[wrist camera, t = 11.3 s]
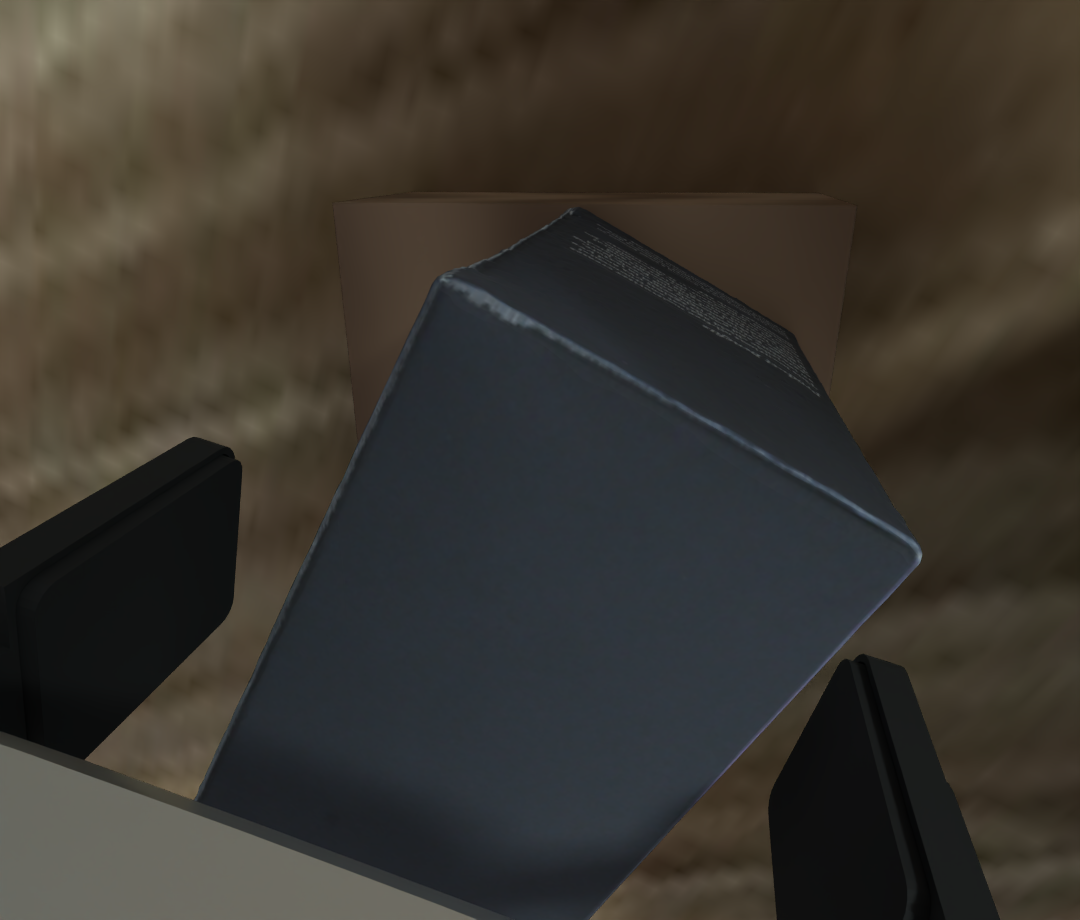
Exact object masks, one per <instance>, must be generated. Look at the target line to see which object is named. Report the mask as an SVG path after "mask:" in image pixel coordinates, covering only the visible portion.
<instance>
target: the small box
mask: <svg viewBox="0 0 1080 920" xmlns="http://www.w3.org/2000/svg"><path fill="white" fill-rule="evenodd" d="M921 558H922V551H921V548H920V545H919V543H918V542H917V540H916V539H915V537H914V536H913V534H912V533H911V531H910V530H909V529H908V527H907V525H906V522H905V520H904V519H903V517H902V516H901V515H900V513H899V512H898V511H897V510H896V509H895V508H894V507H893V505H892V503H891V501H890V499H889V497H888V496H887V494H886V492H885V491H884V489H883V487H882V486H881V484H880V482H879V480H878V479H877V477H876V475H875V473H874V472H873V470H872V469H871V467H870V466H869V464H868V463H867V461H866V460H865V458H864V456H863V454H862V452H861V450H860V448H859V446H858V445H857V443H856V442H855V441H854V439H853V437H852V436H851V434H850V432H849V431H848V429H847V427H846V425H845V423H844V422H843V420H842V418H841V417H840V415H839V413H838V412H837V410H836V408H835V406H834V405H833V403H832V401H831V400H830V398H829V396H828V395H827V393H826V391H825V389H824V387H823V385H822V383H821V382H820V381H819V379H818V377H817V374H816V373H815V372H814V370H813V368H812V366H811V365H810V363H809V361H808V360H807V358H806V356H805V355H804V353H803V351H802V350H801V348H800V346H799V344H798V341H797V339H796V337H795V335H794V334H793V333H791V332H790V331H788V330H787V329H786V328H784V327H782V326H781V325H779V324H777V323H775V322H774V321H772V320H771V319H769V318H768V317H766V316H764V315H762V314H761V313H759V312H758V311H756V310H754V309H752V308H751V307H749V306H748V305H746V304H745V303H743V302H742V301H740V300H739V299H737V298H734V297H732V296H730V295H729V294H727V293H726V292H724V291H722V290H721V289H719V288H718V287H716V286H714V285H713V284H711V283H709V282H708V281H706V280H704V279H702V278H700V277H699V276H697V275H695V274H694V273H692V272H691V271H689V270H687V269H685V268H684V267H682V266H680V265H679V264H677V263H675V262H674V261H672V260H670V259H668V258H667V257H665V256H664V255H662V254H660V253H658V252H656V251H655V250H653V249H651V248H650V247H648V246H646V245H645V244H643V243H641V242H639V241H638V240H636V239H635V238H633V237H632V236H630V235H628V234H626V233H625V232H623V231H621V230H620V229H618V228H616V227H614V226H613V225H611V224H609V223H608V222H606V221H604V220H603V219H601V218H599V217H597V216H596V215H594V214H593V213H591V212H590V211H588V210H586V209H583V208H581V207H574V208H569V209H567V210H566V211H565V212H564V213H563V214H561V215H560V217H558V218H557V219H555V220H553V221H552V222H550V223H549V224H548V225H545V226H544V227H542V228H541V229H539V230H538V231H535V232H534V233H532V234H530V235H529V236H527V237H525V238H523V239H520V240H519V241H518V242H517V243H516V244H513V245H512V246H510V247H509V248H508V249H503V250H501V251H500V252H499V253H498V254H495V255H493V256H491V257H490V258H488V259H483V260H481V261H479V262H476V263H474V264H472V265H469V266H468V267H460V268H454V269H453V270H450V271H447V272H445V273H444V274H442V275H440V276H438V277H437V278H436V279H435V280H434V282H433V283H432V285H431V287H430V290H429V292H428V294H427V297H426V299H425V302H424V304H423V306H422V308H421V310H420V312H419V314H418V316H417V318H416V320H415V322H414V324H413V327H412V329H411V331H410V333H409V335H408V337H407V339H406V341H405V344H404V346H403V348H402V350H401V352H400V355H399V357H398V359H397V361H396V363H395V365H394V368H393V370H392V372H391V374H390V376H389V378H388V381H387V383H386V385H385V387H384V389H383V391H382V393H381V395H380V398H379V400H378V402H377V404H376V406H375V408H374V410H373V412H372V415H371V417H370V419H369V421H368V423H367V425H366V427H365V429H364V431H363V434H362V436H361V438H360V440H359V442H358V444H357V447H356V449H355V451H354V454H353V456H352V458H351V461H350V463H349V465H348V468H347V470H346V473H345V475H344V477H343V480H342V481H341V483H340V484H339V486H338V488H337V490H336V492H335V495H334V497H333V499H332V501H331V504H330V506H329V508H328V511H327V513H326V515H325V517H324V519H323V521H322V523H321V525H320V527H319V529H318V531H317V534H316V536H315V538H314V541H313V543H312V545H311V547H310V549H309V552H308V554H307V556H306V558H305V560H304V562H303V564H302V566H301V568H300V570H299V572H298V574H297V576H296V578H295V580H294V583H293V585H292V587H291V589H290V591H289V593H288V596H287V598H286V600H285V603H284V605H283V607H282V609H281V612H280V614H279V616H278V618H277V620H276V622H275V624H274V626H273V628H272V631H271V633H270V636H269V638H268V641H267V643H266V645H265V647H264V649H263V651H262V653H261V655H260V657H259V660H258V662H257V665H256V668H255V670H254V672H253V675H252V677H251V679H250V681H249V683H248V685H247V687H246V689H245V691H244V693H243V695H242V697H241V699H240V701H239V703H238V705H237V708H236V710H235V712H234V714H233V717H232V719H231V722H230V724H229V726H228V728H227V730H226V732H225V734H224V736H223V738H222V740H221V742H220V744H219V746H218V748H217V750H216V753H215V755H214V758H213V760H212V762H211V764H210V766H209V769H208V771H207V773H206V775H205V778H204V780H203V782H202V784H201V785H200V787H199V791H198V794H197V796H196V797H195V799H194V801H197V802H200V803H202V804H205V805H208V806H210V807H213V808H216V809H219V810H221V811H224V812H227V813H230V814H232V815H235V816H238V817H240V818H243V819H246V820H249V821H251V822H254V823H257V824H260V825H262V826H265V827H268V828H270V829H273V830H276V831H278V832H281V833H284V834H286V835H289V836H292V837H295V838H297V839H300V840H303V841H305V842H308V843H311V844H313V845H316V846H319V847H321V848H324V849H327V850H329V851H332V852H335V853H337V854H340V855H343V856H346V857H348V858H351V859H354V860H356V861H359V862H362V863H364V864H367V865H370V866H372V867H375V868H378V869H380V870H383V871H386V872H388V873H391V874H394V875H396V876H399V877H402V878H404V879H407V880H410V881H412V882H415V883H418V884H420V885H423V886H426V887H428V888H431V889H434V890H436V891H439V892H442V893H444V894H447V895H450V896H452V897H455V898H458V899H460V900H463V901H466V902H468V903H471V904H474V905H476V906H479V907H482V908H484V909H487V910H490V911H492V912H495V913H498V914H500V915H503V916H506V917H508V918H511V919H513V920H589V919H590V918H591V917H592V915H593V914H594V913H595V912H596V911H597V910H598V909H599V908H600V907H601V906H602V904H603V903H604V902H605V901H606V900H607V899H608V898H609V897H610V896H611V895H612V894H613V892H614V891H615V890H616V889H617V888H618V887H619V886H620V885H621V884H622V883H623V882H624V881H625V879H626V878H627V877H628V876H629V875H630V874H631V873H632V872H633V871H634V870H635V869H636V867H637V866H638V865H639V864H640V863H641V862H642V861H643V860H644V859H645V858H646V857H647V856H648V854H649V853H650V852H651V851H652V850H653V849H654V848H655V847H656V846H657V845H658V844H659V842H660V841H661V840H662V839H663V838H664V837H665V836H666V835H667V834H668V833H669V832H670V830H671V829H672V828H673V827H674V826H675V825H676V824H677V823H678V822H679V821H680V820H681V818H682V817H683V816H684V815H685V814H686V813H687V812H688V811H689V810H690V809H691V808H692V807H693V806H694V805H695V804H696V803H697V801H698V800H699V799H700V798H701V797H702V796H703V795H704V794H705V793H706V792H707V791H708V790H709V789H710V788H711V787H712V785H713V784H714V783H715V782H716V781H717V780H718V779H719V778H720V777H721V776H722V775H723V774H724V773H725V771H726V770H727V769H728V768H729V767H730V766H731V765H732V764H733V763H734V762H735V761H736V760H737V759H738V757H739V756H740V755H741V754H742V753H743V752H744V751H745V750H746V749H747V748H748V747H749V746H750V745H751V743H752V742H753V741H754V740H755V739H756V738H757V737H758V736H759V735H760V734H761V733H762V732H763V731H764V729H765V728H766V727H767V726H768V725H769V724H770V723H771V722H772V721H773V720H774V719H775V718H776V717H777V715H778V714H779V713H780V712H781V711H782V710H783V709H784V708H785V707H786V706H787V705H788V704H789V703H790V702H791V700H792V699H793V698H794V697H795V696H796V695H797V694H798V693H799V692H800V691H801V690H802V689H803V688H804V687H805V686H806V684H807V683H808V682H809V681H810V680H811V679H812V678H813V677H814V676H815V675H816V674H817V673H818V672H819V671H820V670H821V668H822V667H823V666H824V665H825V664H826V663H827V662H828V661H829V660H830V659H831V658H832V657H833V656H834V655H835V654H836V652H837V651H838V650H839V649H840V648H841V647H842V646H843V645H844V644H845V643H846V642H847V641H848V640H849V639H850V637H851V636H852V635H853V634H854V633H855V632H856V631H857V629H858V628H859V627H860V626H861V625H862V624H863V623H864V622H865V621H866V620H867V619H868V618H869V617H870V616H871V615H872V614H873V613H874V612H875V611H876V610H877V609H878V608H879V607H880V606H881V605H882V604H883V603H884V602H885V601H886V600H887V599H888V598H889V596H890V595H891V594H892V593H893V592H894V591H895V590H896V589H897V588H898V586H899V585H900V584H901V583H902V582H903V581H904V580H905V579H906V578H907V576H908V575H909V574H910V573H911V572H912V571H913V570H914V569H915V568H916V567H917V566H918V565H919V564H920V562H921Z"/></svg>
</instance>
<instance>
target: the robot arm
mask: <svg viewBox="0 0 1080 920" xmlns="http://www.w3.org/2000/svg"><path fill="white" fill-rule="evenodd" d="M241 482H242V465H241V463H240V462H239V461H238V460H235V456H234V453H233V451H232V450H231V449H230V448H228V447H225V446H222V445H219V444H216V443H213V442H210V441H207V440H204V439H201V438H197V437H192V438H189V439H187V440H185V441H184V442H182V443H180V444H179V445H177V446H175V447H173V448H172V449H170V450H168V451H166V452H165V453H163V454H161V455H160V456H158V457H156V458H154V459H153V460H151V461H149V462H147V463H146V464H144V465H142V466H141V467H139V468H137V469H135V470H134V471H132V472H130V473H128V474H127V475H125V476H123V477H122V478H120V479H118V480H116V481H115V482H113V483H111V484H109V485H108V486H106V487H104V488H103V489H101V490H99V491H97V492H96V493H94V494H92V495H90V496H89V497H87V498H85V499H84V500H82V501H80V502H78V503H77V504H75V505H73V506H72V507H70V508H68V509H66V510H65V511H63V512H61V513H59V514H58V515H56V516H54V517H53V518H51V519H49V520H47V521H46V522H44V523H42V524H40V525H39V526H37V527H35V528H34V529H32V530H30V531H28V532H27V533H25V534H23V535H21V536H20V537H18V538H16V539H15V540H13V541H11V542H9V543H8V544H6V545H4V546H2V547H1V548H0V920H513V919H511V918H508V917H506V916H503V915H500V914H498V913H495V912H492V911H490V910H487V909H484V908H482V907H479V906H476V905H474V904H471V903H468V902H466V901H463V900H460V899H458V898H455V897H452V896H450V895H447V894H444V893H442V892H439V891H436V890H434V889H431V888H428V887H426V886H423V885H420V884H418V883H415V882H412V881H410V880H407V879H404V878H402V877H399V876H396V875H394V874H391V873H388V872H386V871H383V870H380V869H378V868H375V867H372V866H370V865H367V864H364V863H362V862H359V861H356V860H354V859H351V858H348V857H346V856H343V855H340V854H337V853H335V852H332V851H329V850H327V849H324V848H321V847H319V846H316V845H313V844H311V843H308V842H305V841H303V840H300V839H297V838H295V837H292V836H289V835H286V834H284V833H281V832H278V831H276V830H273V829H270V828H268V827H265V826H262V825H260V824H257V823H254V822H251V821H249V820H246V819H243V818H240V817H238V816H235V815H232V814H230V813H227V812H224V811H221V810H219V809H216V808H213V807H210V806H208V805H205V804H202V803H200V802H197V801H194V800H191V799H189V798H186V797H183V796H180V795H178V794H175V793H172V792H170V791H167V790H164V789H161V788H159V787H156V786H153V785H151V784H148V783H145V782H142V781H140V780H137V779H134V778H131V777H129V776H126V775H123V774H121V773H118V772H115V771H112V770H110V769H107V768H104V767H101V766H99V765H96V764H93V763H91V762H88V761H85V759H86V758H87V757H88V756H89V755H90V754H91V753H92V752H93V751H94V750H95V749H96V748H97V747H98V746H99V745H100V744H101V743H102V742H103V741H104V740H105V739H106V738H107V737H108V736H109V735H110V734H111V733H112V732H113V731H114V730H115V729H116V728H117V727H118V726H119V725H120V724H121V723H122V722H123V721H124V720H125V719H126V718H127V717H128V716H129V715H130V714H131V713H132V712H133V711H134V710H135V709H136V708H137V707H138V706H139V705H140V704H141V703H142V702H143V701H144V700H145V699H146V698H147V697H148V696H149V695H150V694H151V693H152V692H153V691H154V690H155V689H156V688H157V687H158V686H159V685H160V684H161V683H162V682H163V681H164V680H165V679H166V678H167V677H168V676H169V675H170V674H171V673H172V672H173V671H174V670H175V669H176V668H177V667H178V666H179V665H180V664H181V663H182V662H183V661H184V660H185V659H186V658H187V657H188V656H189V655H190V654H191V653H192V652H193V651H194V650H195V649H196V648H197V647H198V646H199V645H200V644H201V643H202V642H203V641H204V640H205V639H206V638H207V637H208V636H209V635H210V634H211V633H212V632H213V631H214V630H215V629H216V628H217V627H218V626H219V625H220V624H221V623H222V622H223V621H224V620H225V619H226V617H227V615H228V614H229V611H230V609H231V607H232V604H233V598H234V584H235V569H236V555H237V540H238V526H239V511H240V497H241ZM768 815H769V828H770V840H771V852H772V865H773V877H774V890H775V902H776V914H777V920H1000V918H999V915H998V912H997V910H996V907H995V904H994V901H993V899H992V896H991V893H990V890H989V888H988V885H987V882H986V880H985V877H984V874H983V871H982V869H981V866H980V863H979V860H978V858H977V855H976V852H975V849H974V847H973V844H972V841H971V838H970V836H969V833H968V830H967V827H966V825H965V822H964V819H963V817H962V814H961V811H960V808H959V806H958V803H957V800H956V797H955V795H954V793H953V791H952V789H951V787H950V785H949V783H947V782H946V780H945V777H944V774H943V771H942V769H941V766H940V763H939V760H938V757H937V755H936V752H935V749H934V746H933V744H932V741H931V738H930V735H929V732H928V730H927V727H926V724H925V721H924V718H923V716H922V713H921V710H920V707H919V705H918V702H917V699H916V696H915V693H914V691H913V688H912V685H911V682H910V680H909V677H908V674H907V672H906V670H905V668H903V667H901V666H899V665H896V664H893V663H890V662H887V661H884V660H881V659H878V658H874V657H871V656H868V655H865V654H861V655H859V656H857V657H856V658H855V660H854V661H851V660H848V659H844V660H843V661H841V662H840V664H839V665H838V667H837V669H836V671H835V673H834V674H833V676H832V678H831V680H830V682H829V684H828V686H827V687H826V689H825V691H824V693H823V695H822V697H821V699H820V700H819V702H818V704H817V706H816V708H815V710H814V712H813V713H812V715H811V717H810V719H809V721H808V723H807V725H806V726H805V728H804V730H803V732H802V734H801V736H800V738H799V739H798V741H797V743H796V745H795V747H794V749H793V751H792V752H791V754H790V756H789V758H788V760H787V762H786V764H785V765H784V767H783V769H782V771H781V773H780V775H779V777H778V779H777V780H776V782H775V784H774V786H773V789H772V791H771V795H770V799H769V807H768Z"/></svg>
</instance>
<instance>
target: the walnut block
mask: <svg viewBox="0 0 1080 920" xmlns="http://www.w3.org/2000/svg"><path fill="white" fill-rule="evenodd" d="M574 207H581V208H583V209H586V210H588V211H590V212H591V213H593V214H594V215H596V216H597V217H599V218H601V219H603V220H604V221H606V222H608V223H609V224H611V225H613V226H614V227H616V228H618V229H620V230H621V231H623V232H625V233H626V234H628V235H630V236H632V237H633V238H635V239H636V240H638V241H639V242H641V243H643V244H645V245H646V246H648V247H650V248H651V249H653V250H655V251H656V252H658V253H660V254H662V255H664V256H665V257H667V258H668V259H670V260H672V261H674V262H675V263H677V264H679V265H680V266H682V267H684V268H685V269H687V270H689V271H691V272H692V273H694V274H695V275H697V276H699V277H700V278H702V279H704V280H706V281H708V282H709V283H711V284H713V285H714V286H716V287H718V288H719V289H721V290H722V291H724V292H726V293H727V294H729V295H730V296H732V297H734V298H737V299H739V300H740V301H742V302H743V303H745V304H746V305H748V306H749V307H751V308H752V309H754V310H756V311H758V312H759V313H761V314H762V315H764V316H766V317H768V318H769V319H771V320H772V321H774V322H775V323H777V324H779V325H781V326H782V327H784V328H786V329H787V330H788V331H790V332H791V333H793V334H794V335H795V337H796V339H797V341H798V344H799V346H800V348H801V350H802V351H803V353H804V355H805V356H806V358H807V360H808V361H809V363H810V365H811V366H812V368H813V370H814V372H815V373H816V374H817V377H818V379H819V381H820V382H821V383H822V385H823V387H824V389H825V391H826V393H827V395H828V396H829V395H830V389H831V382H832V375H833V368H834V361H835V354H836V348H837V341H838V334H839V327H840V320H841V314H842V307H843V300H844V293H845V286H846V279H847V273H848V266H849V259H850V252H851V245H852V238H853V232H854V225H855V218H856V211H857V205H854V204H851V203H848V202H845V201H842V200H839V199H835V198H832V197H829V196H826V195H823V194H820V193H609V192H408V193H401V194H393V195H386V196H379V197H371V198H364V199H357V200H349V201H342V202H334V203H333V211H334V221H335V230H336V240H337V249H338V259H339V268H340V278H341V287H342V297H343V306H344V316H345V325H346V335H347V344H348V354H349V363H350V373H351V382H352V392H353V401H354V411H355V420H356V430H357V439H358V442H359V440H360V438H361V436H362V434H363V431H364V429H365V427H366V425H367V423H368V421H369V419H370V417H371V415H372V412H373V410H374V408H375V406H376V404H377V402H378V400H379V398H380V395H381V393H382V391H383V389H384V387H385V385H386V383H387V381H388V378H389V376H390V374H391V372H392V370H393V368H394V365H395V363H396V361H397V359H398V357H399V355H400V352H401V350H402V348H403V346H404V344H405V341H406V339H407V337H408V335H409V333H410V331H411V329H412V327H413V324H414V322H415V320H416V318H417V316H418V314H419V312H420V310H421V308H422V306H423V304H424V302H425V299H426V297H427V294H428V292H429V290H430V287H431V285H432V283H433V282H434V280H435V279H436V278H437V277H438V276H440V275H442V274H444V273H445V272H447V271H450V270H453V269H454V268H460V267H468V266H469V265H472V264H474V263H476V262H479V261H481V260H483V259H488V258H490V257H491V256H493V255H495V254H498V253H499V252H500V251H501V250H503V249H508V248H509V247H510V246H512V245H513V244H516V243H517V242H518V241H519V240H520V239H523V238H525V237H527V236H529V235H530V234H532V233H534V232H535V231H538V230H539V229H541V228H542V227H544V226H545V225H548V224H549V223H550V222H552V221H553V220H555V219H557V218H558V217H560V215H561V214H563V213H564V212H565V211H566V210H567V209H569V208H574Z"/></svg>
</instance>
